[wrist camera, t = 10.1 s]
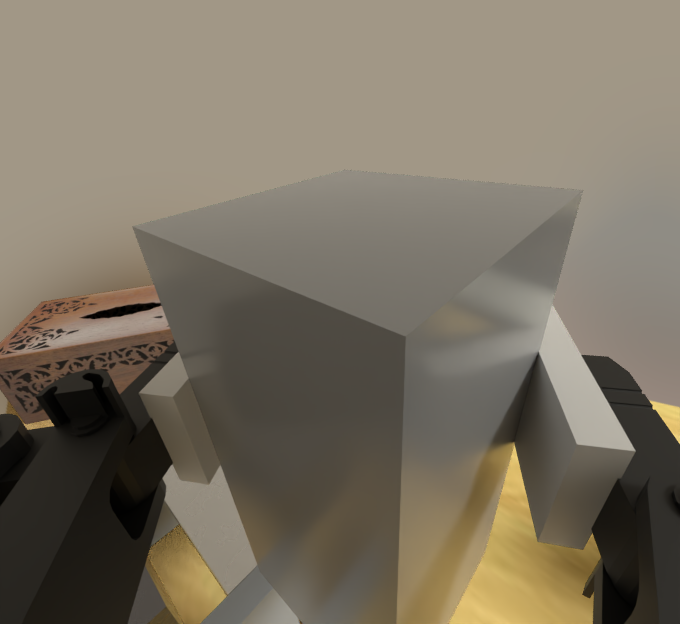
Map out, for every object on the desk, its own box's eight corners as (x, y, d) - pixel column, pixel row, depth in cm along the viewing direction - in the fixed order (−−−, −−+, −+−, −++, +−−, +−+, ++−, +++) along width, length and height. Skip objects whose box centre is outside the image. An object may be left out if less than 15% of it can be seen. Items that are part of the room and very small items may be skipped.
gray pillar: (361, 463, 14) (344, 170, 9) (485, 551, 11) (582, 190, 6) (260, 572, 11) (132, 226, 6) (392, 733, 8) (405, 337, 3)
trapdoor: (284, 366, 35) (276, 323, 32) (405, 444, 26) (406, 393, 24) (-1, 549, 22) (-53, 501, 19) (54, 827, 13) (-28, 805, 10)
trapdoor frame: (363, 367, 49) (358, 270, 42) (492, 436, 38) (517, 321, 31) (59, 603, 28) (-61, 490, 20) (153, 919, 17) (-34, 923, 9)
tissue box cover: (26, 425, 45) (-20, 362, 40) (72, 357, 57) (41, 301, 52) (238, 382, 49) (220, 320, 44) (238, 327, 61) (225, 273, 56)
